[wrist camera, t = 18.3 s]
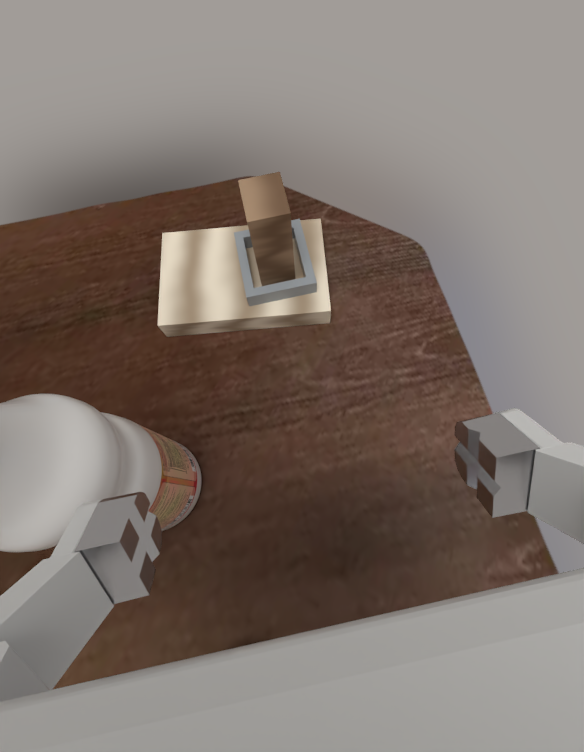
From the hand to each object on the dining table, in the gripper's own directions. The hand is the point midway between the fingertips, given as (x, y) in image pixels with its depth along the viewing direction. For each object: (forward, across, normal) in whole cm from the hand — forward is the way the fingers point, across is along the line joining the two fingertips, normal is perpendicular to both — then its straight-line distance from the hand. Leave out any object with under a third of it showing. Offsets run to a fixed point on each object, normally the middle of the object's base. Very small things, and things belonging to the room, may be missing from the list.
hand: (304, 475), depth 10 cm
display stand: (+41, +2, +3) cm, 41 cm away
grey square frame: (+39, -2, +1) cm, 39 cm away
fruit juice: (+26, +16, +19) cm, 35 cm away
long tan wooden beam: (+39, -2, +1) cm, 39 cm away
